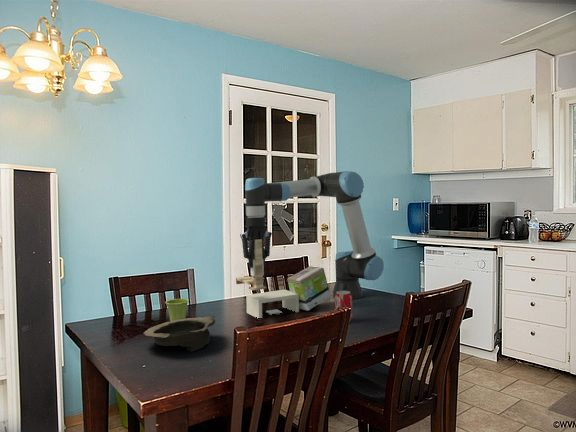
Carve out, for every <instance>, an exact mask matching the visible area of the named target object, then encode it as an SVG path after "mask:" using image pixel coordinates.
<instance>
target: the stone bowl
mask: <svg viewBox="0 0 576 432" xmlns="http://www.w3.org/2000/svg"><path fill="white" fill-rule="evenodd" d="M215 317H216V316H215V315H209V316H204V317H188V318H186V319H181V320H174V321H170V320H169V321H166V322H163V323H160V324H157V325H154V326H152V327H149V328H148V329H147V330H145V331H144V332H143V334H144V335H145V336H146V337H153V339H154V342H155V343H156V344H157V345H159V346H165V347H177V346H180V347H182V348H183V347H185V349H186V350H187V352H191V353H192V352H196V351H197V350H201V349H202V348H204V347H206V345H208V344H209V343H210V341H211V333H210V331H209V329H208V328H209V327H213V326H214V325H215V323H216V319H215Z"/></svg>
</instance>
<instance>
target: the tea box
mask: <svg viewBox="0 0 576 432" xmlns="http://www.w3.org/2000/svg"><path fill="white" fill-rule="evenodd" d="M327 280H328V279H327V276H326V272H325V269H324V267H320V266H319V267H318V266H308V267H306V268H304V269H302V270H300V271H299V272H297V273H295V274H293V275H291V276H290V277H288V278H287V283H288V288H289V291H290V292H291V293H295V294H298V295H299V310H303V311H310V310H311V309H313V308H314V307H316V306H317V305H319V304H321V303H322V302H324V301H326V300H327V299H329V298H331V296H332V294H331V292H330V287H329V284H328V281H327Z"/></svg>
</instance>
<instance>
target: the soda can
mask: <svg viewBox="0 0 576 432" xmlns="http://www.w3.org/2000/svg"><path fill="white" fill-rule="evenodd" d="M338 307H349V308H351V317H350V322H351V321H352V320H353V299H352V296H351V294H350V292H349V291H337V292H336V295H335V297H334V310H335V309H337V308H338Z"/></svg>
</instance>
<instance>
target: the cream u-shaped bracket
mask: <svg viewBox="0 0 576 432" xmlns="http://www.w3.org/2000/svg"><path fill="white" fill-rule="evenodd" d="M245 296H246V297H245V298H246V299H245V300H246V314H248V315H250V316H252V317H254V318H256V317H257V319H258V318H262V319H263V304H266V303H271V302H272V303H273V302H279V301H282V308H284V309H286V308H287V310H288V311H291V310H292V312H294V311H295V313H299V312H300V309H299V295H298V294H295V293H291V292H290V290H287V289H278V290H273V291H266V292H260V293H259V292H258V293H251V294H246V295H245Z"/></svg>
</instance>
